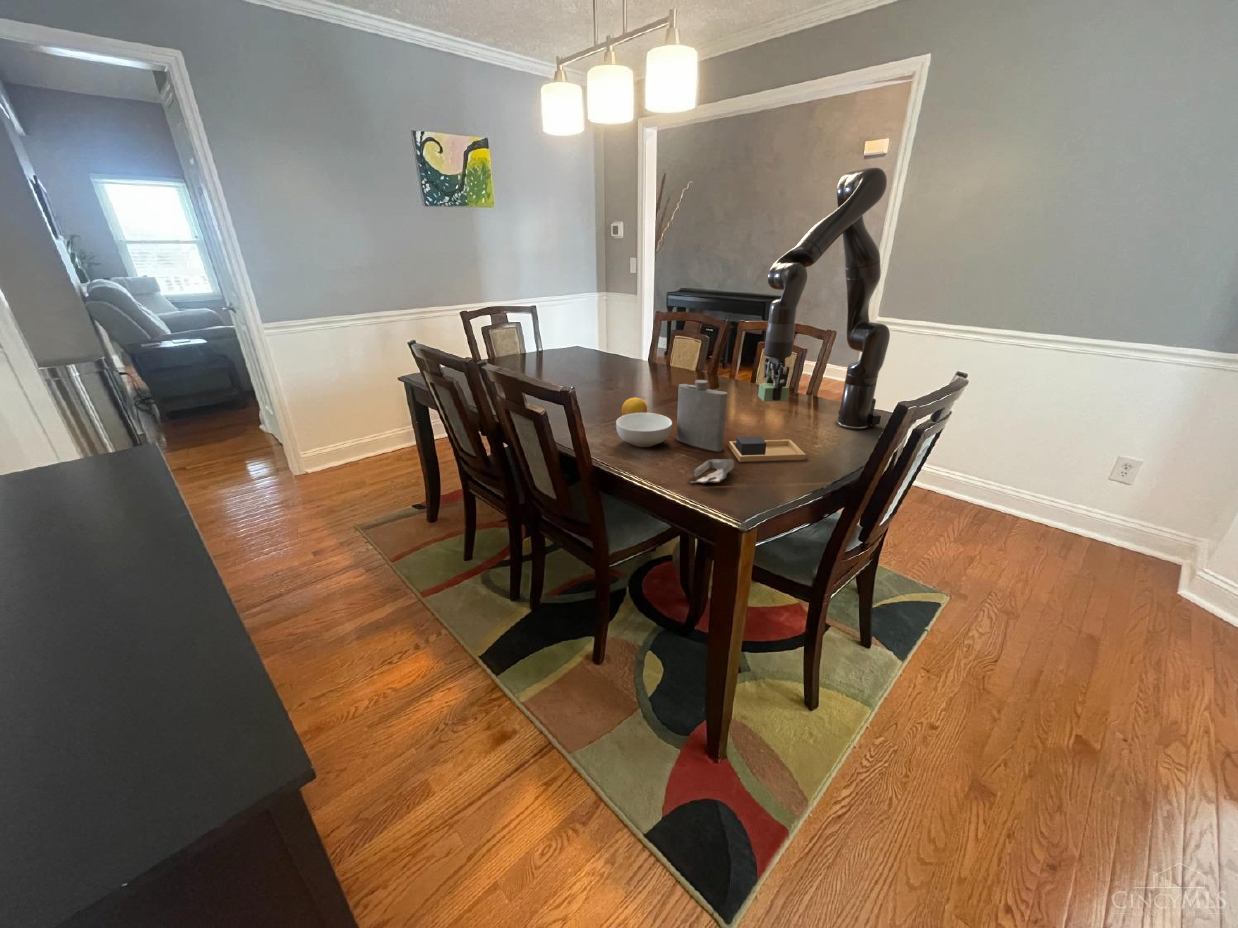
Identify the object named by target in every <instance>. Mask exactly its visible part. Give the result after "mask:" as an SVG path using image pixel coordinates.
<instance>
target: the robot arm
mask: <svg viewBox="0 0 1238 928" xmlns="http://www.w3.org/2000/svg"><path fill="white" fill-rule="evenodd" d="M887 186H888V177H887V175H886V173H885V171H884V170H883V168H880V167H867V168H862V169H858V170H853V171H849V172H846V173H844V174H843V175H842V176H841V177H840V179H839V181H838V183H837V187H836V203H837V208H836V209H835V210H834V211H832V212H831V213H830V214H828V215H827V216H825V217H824V218H822V219H821V220H819V221H818V222H817V223H816V224H814V225H813V226H812V227H811V228H810V229H809V230H808V231H807V233H806V234H805V235H804V236H803V237H802V238H801V240H799V241H798V243H797V244H796V246H794V247H793V248H791V249H790V250H788V251H787V252H785V254H784V255H782V256H781V257H779V258H778V259H777V260H776V261H775V262H773V264H772V266H771V267H770V269H769V270H768V273H767V279H766V280H767V284H768V285H769V287H770V288H771V289H774V290H778V291H779V290H780V291H782V294H781V296H780V298H777V299H774V300H773V301H771V303H770V306H769V313H768V323H767V327H766V333H765V340H764V341H765V342H764V351H763V354H764V356H765V358H764V368H763V379H765V383H774V388H773V397H772V399H773V400H780V399H781V391H782V388H783V387H786V386H787V383H788V378H789V373H790V367H789V366H787V365H786V359H787V358H790V357H792V354H793V347H794V339H795V332H796V331H795V330H796V323H795V322H796V317H797V309H798V306H799V304H800V301H801V298H802V296H803V293H804V290H805V287H806V285H807V282H808V270H807V268H809V267H812V266H814V265H815V264H816V263H817V262H819V260H820V259H821V258H822V256H823V255H824V254H825V252H827V251H828V249H829V248H830V247H831V246H832V245H833V244H834V243H835V241H836V240H837V239H838V238H840V237H841V235H842V243H843V254H844V275H845V284H846V301H847V302H846V303H847V318H846V319H847V320H846V341H847V345H848V347H849V348H850V349H851V350H853V351H856V352H860V353H861V355H860V358H859V360H858V361H855V362H854V361H853V362H851V363H849V364H848V365H847V367H846V374H845V379H844V385H843V390H842V395H841V401H840V406H839V410H838V413H837V414H838V417H837V422H836V424H837V426H840V427H842V428H845V429H848V430H866V429H870V428H871V426H873V427H875V426H877V425H880V424H881V418H882V415H880V414H879V413H878V412H875V407H876V402H877V400H876V398H875V393H876V387H877V384H878V383H877V382H878V378H879V373H880V372H881V369H882V367H883V365H884V362H885V359H886V354H887V352H888V347H889V343H890V339H891V337H890V336H891V334H890V329H889V327H888V325H886V324H883V323H879V322H873V321H870V315H869V309H870V308H869V307H870V302H871V300H872V297H873V295H874V293H875V291H876V290H877V288H878V285H879V283H880V281H881V276H882V272H881V271H882V269H881V266H882V265H881V253H880V250H879V248H878V245H877V244H876V242H875V241H874V239H873V237H872V236H871V234H870V232H869V231H868V229H867V226H866V224H865V221H864V215H865V214H866V213H867V212H869V211H870V210H871V209H872V208H873V207H874V206H875V205H876V204H877V203H879V201H880V200H881V199H882V198H883V196H884V195H885V192H886V190H887Z"/></svg>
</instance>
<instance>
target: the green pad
mask: <svg viewBox="0 0 1238 928" xmlns="http://www.w3.org/2000/svg"><path fill="white" fill-rule="evenodd" d="M773 388H774V383H767V382H764V383H763V382H761V383H758V393H757V397H758V398H759V399H760V400H761V401H762V402H788V400H789V393H790V387H789V386H788V385H786V387H783V388H782V391H781V399H780V400H773V399H772V397H773Z"/></svg>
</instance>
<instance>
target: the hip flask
mask: <svg viewBox="0 0 1238 928" xmlns="http://www.w3.org/2000/svg"><path fill="white" fill-rule="evenodd" d="M708 382H709V381H708V380H706V379H695V381H694V384H688V383H680V384H678V390H677V391H678V394H677V414H676V415H677V417H676V437H675V438H676V441H677V442H678V441H679V442H681V443H683V444H687V445H689V446H691V447H692V446H693V447H695V448H696V447H697V448H700V449H703V450H708V451H713V452H722V451H723V450H724V449H723V448H724V438H725V425H726V414H727V413H726V412H727V401H728V392H727V391H722V390H716V389H709V388H708V385H709V383H708Z"/></svg>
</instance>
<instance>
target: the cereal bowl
mask: <svg viewBox="0 0 1238 928" xmlns="http://www.w3.org/2000/svg"><path fill="white" fill-rule="evenodd" d="M615 428H616V429H615V430H616V433H617V435H618V436H619V438H620V439H621V440H622V441H623V442H626V443H627V444H631V445H632V446H635V447H637V448H638V447H639V448H651V447H654V446H656V445H658V444H662V443H663V442H664V441H666V440H668V438H669V437H670V435H671V433H672V429H673V421H672V419H671V418H669V417H668V416H666V415H664V414H660V413H654V412H647V413H632V414H627V415H624V416H623V415H621V416H620V417H618V418H617V419H616V421H615Z"/></svg>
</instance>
